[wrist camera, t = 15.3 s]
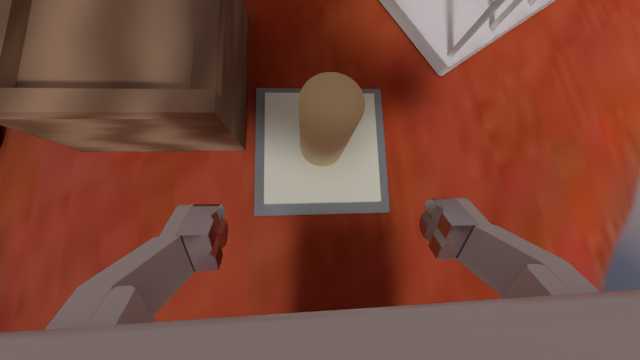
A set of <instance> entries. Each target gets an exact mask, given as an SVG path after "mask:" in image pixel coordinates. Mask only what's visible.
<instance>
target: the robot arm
mask: <svg viewBox="0 0 640 360" xmlns="http://www.w3.org/2000/svg"><path fill="white" fill-rule="evenodd" d="M424 207H425V209H426V212H424V213H423V214H422V215H421V218H420V221H419V222H420V230H421V233H422V235H423V237H424V238H426V239H427V240H429V241H430V242H429V247H430V249H431V251H432V253H433V254H434V256H435V258H436V259H457V260H458V261H459V262H460V263H461V264H463V265H464V266H465V267H466V268H468V269H469V270H470V271H471V272H473V273H474V274H475V275H476V276H477V277H479V278H480V279H481V280H482V281H484V282H485V283H486V284H487V285H489V286H490V287H491V288H492V289H494V290H495V291H496V292H497V293H498V294H500V295H501V296H502V297H501V298H500V299H492V300H477V301H462V302H448V303H433V304H419V305H404V306H389V307H375V308H360V309H344V310H329V311H314V312H299V313H284V314H269V315H254V316H239V317H225V318H210V319H195V320H180V321H165V322H157V321H156V320H155V318H154V317H153V316H154V315H155V314H156V313H157V312H158V310H159V309H160V308H161V307H162V306H163V305H164V304H165V303H166V302H167V301H168V300H169V299H170V298H171V297H172V296H173V295H174V294H175V293H176V292H177V291H178V290H179V288H180V287H181V286H182V285H183V284H184V283H185V282H186V281H187V280H188V279H189V278H190V277H191V276H192V275H193V274H194V272H196V271H209V270H219V267H220V264H221V260H222V257H223V253H222V248H223V247H224V246H225V245H226V242H227V238H228V225H227V221H226V220H225V219H223V216H224V213H225V212H224V209H223V206H222V205H221V204H194V205H179V206H177V207H176V208H175V210H174V212H173V214H172V215H171V217H170V219H169V220H168V222H167V224H166V225H165V227H164V229H163V230H162V232H161V234H160V235H159V237H154V238H152V239H151V240H149V241H148V242H146V243H144V244H143V245H141V246H140V247H138V248H137V249H135V250H134V251H132V252H131V253H129V254H128V255H126V256H124V257H123V258H121V259H120V260H118V261H117V262H115V263H114V264H112V265H111V266H109V267H108V268H106V269H105V270H103V271H101V272H100V273H98V274H97V275H95V276H94V277H92V278H91V279H89V280H88V281H86V282H85V283H83V284H81V285H80V286H78V287H77V289H76V290H75V291H74V292H73V294H72V295H71V296H70V298H69V299H68V300H67V301H66V303H65V304H64V305H63V307H62V308H61V309H60V310H59V312H58V313H57V314H56V316H55V317H54V318H53V319H52V321H51V322H50V323H49V325H48V326H47V327H46V328H45V330H30V331H15V332H0V360H640V290H627V291H612V292H599V291H598V290H597V289H596V288H595V287H594V286H593V285H592V284H591V283H590V282H589V281H588V280H586V279H585V278H584V277H583V276H582V275H581V274H580V273H579V272H578V271H577V270H576V269H575V268H574V267H572V266H571V265H570V264H569V263H568V262H567V261H565V260H563V259H561V258H559V257H557V256H555V255H553V254H551V253H549V252H548V251H546V250H544V249H542V248H540V247H538V246H536V245H534V244H532V243H530V242H528V241H526V240H524V239H522V238H520V237H518V236H516V235H514V234H512V233H510V232H508V231H506V230H504V229H503V228H501V227H499V226H497V225H491V224H490V223H489V221H488V220H487V219H486V218H485V217H484V216H483V215H482V214H481V213H480V212H479V211H478V210H477V208H476V207H475V206H474V205H473V204H472V203H471V202H470V201H469V200H468V199H466V198H452V199H429V200H428V201H427V202H426V204H425V206H424Z"/></svg>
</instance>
